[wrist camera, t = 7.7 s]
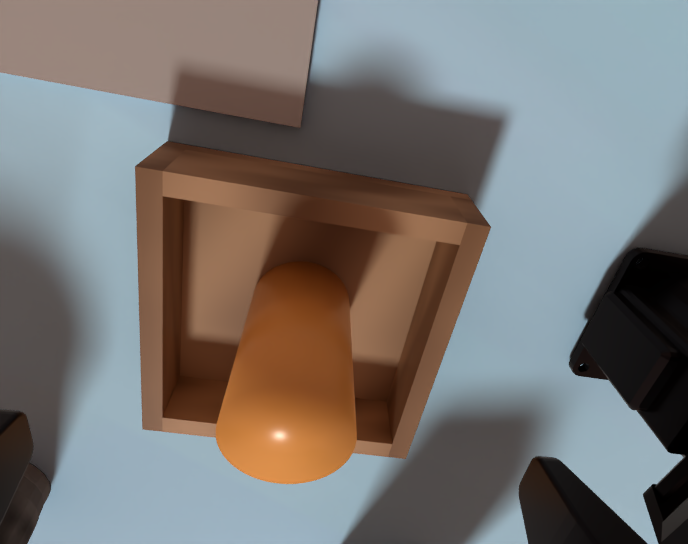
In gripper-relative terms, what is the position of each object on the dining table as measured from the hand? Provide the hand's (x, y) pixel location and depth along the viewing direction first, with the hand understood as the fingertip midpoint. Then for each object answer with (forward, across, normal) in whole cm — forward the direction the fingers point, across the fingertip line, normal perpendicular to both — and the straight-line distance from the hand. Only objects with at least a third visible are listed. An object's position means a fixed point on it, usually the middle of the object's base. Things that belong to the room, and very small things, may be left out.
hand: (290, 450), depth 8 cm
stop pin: (+11, 0, +4) cm, 11 cm away
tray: (+11, 0, +4) cm, 12 cm away
